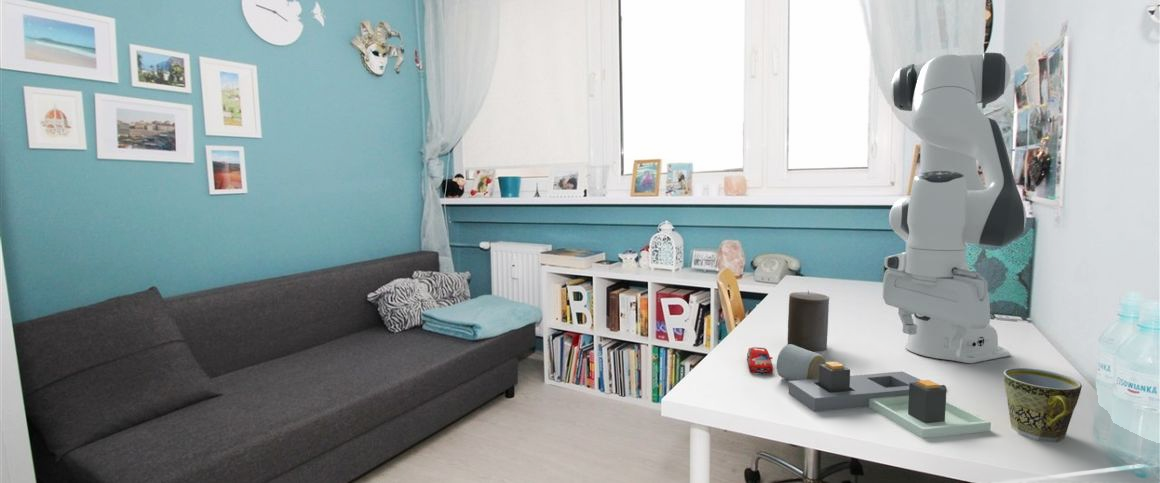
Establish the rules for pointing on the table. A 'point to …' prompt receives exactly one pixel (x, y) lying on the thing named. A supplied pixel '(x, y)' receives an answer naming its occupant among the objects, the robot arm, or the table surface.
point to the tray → (953, 424)
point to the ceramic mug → (798, 363)
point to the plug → (927, 401)
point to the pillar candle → (808, 320)
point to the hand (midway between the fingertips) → (929, 340)
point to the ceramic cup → (1040, 402)
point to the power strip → (848, 388)
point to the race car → (759, 361)
